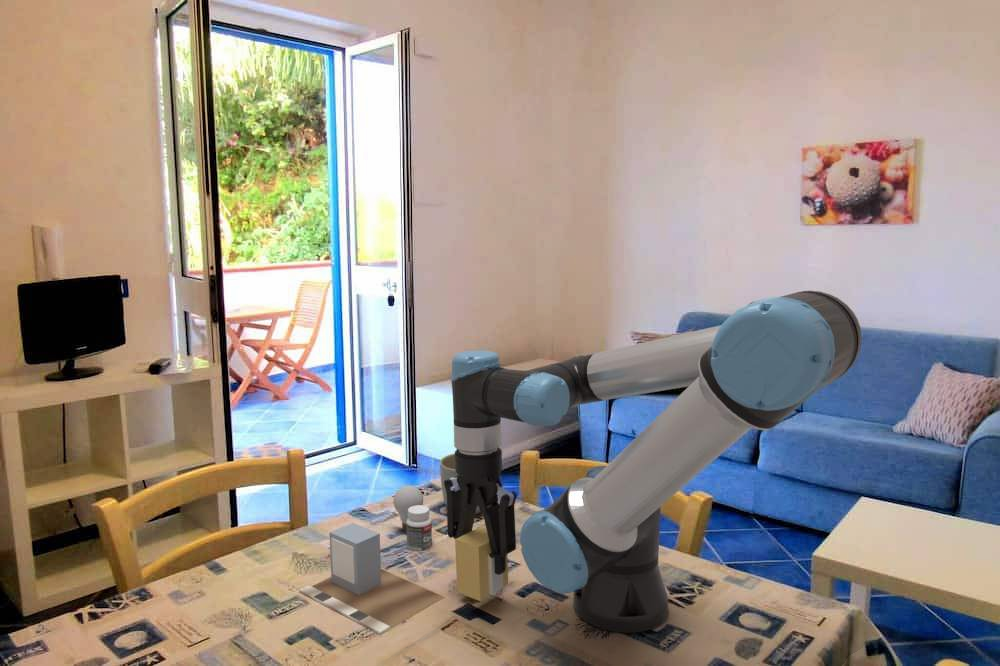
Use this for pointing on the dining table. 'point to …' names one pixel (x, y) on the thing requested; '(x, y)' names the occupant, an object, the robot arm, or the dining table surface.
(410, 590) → the shelf board
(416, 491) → the light bulb
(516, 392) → the robot arm
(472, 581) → the tea box
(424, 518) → the pill bottle
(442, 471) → the planter
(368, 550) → the slate box
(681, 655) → the dining table surface
